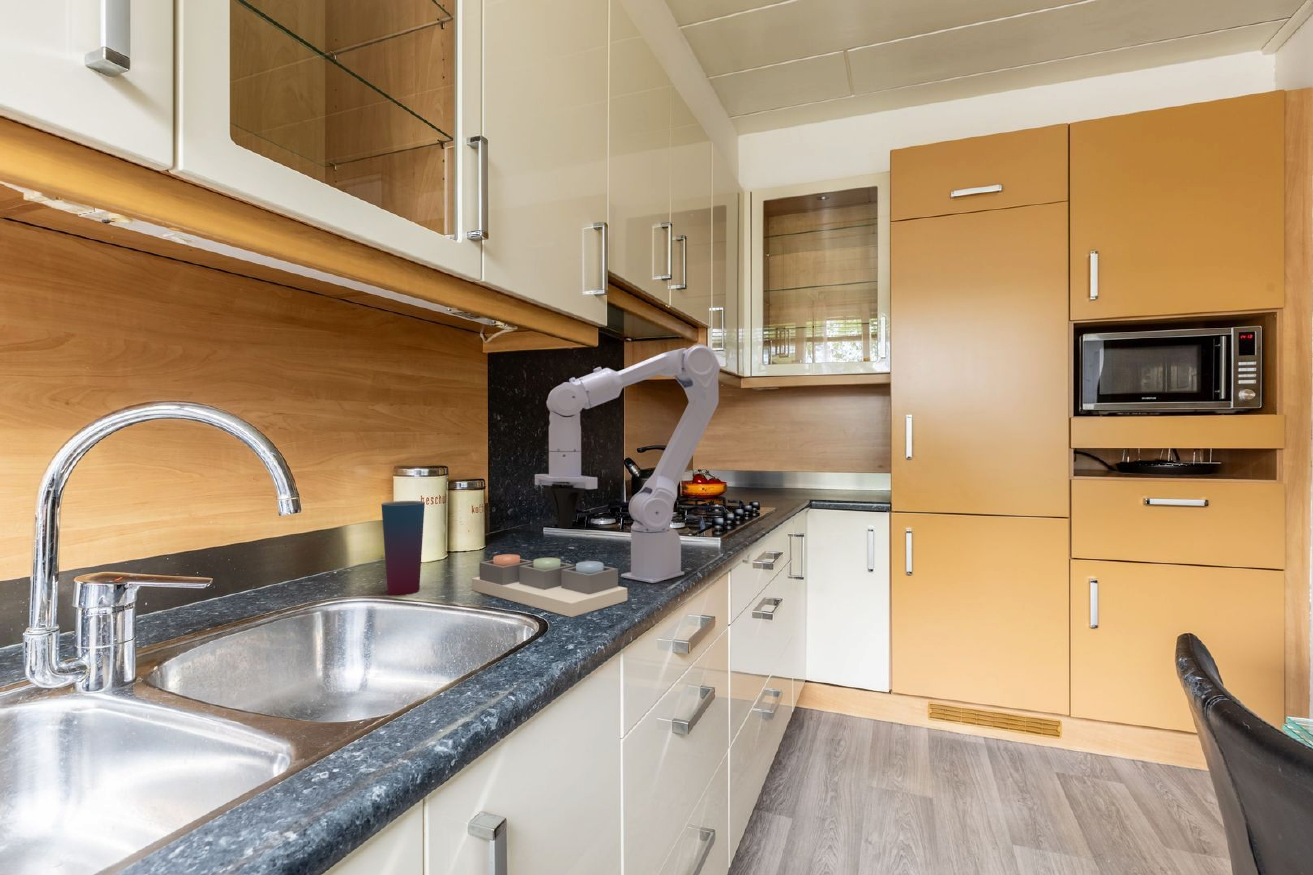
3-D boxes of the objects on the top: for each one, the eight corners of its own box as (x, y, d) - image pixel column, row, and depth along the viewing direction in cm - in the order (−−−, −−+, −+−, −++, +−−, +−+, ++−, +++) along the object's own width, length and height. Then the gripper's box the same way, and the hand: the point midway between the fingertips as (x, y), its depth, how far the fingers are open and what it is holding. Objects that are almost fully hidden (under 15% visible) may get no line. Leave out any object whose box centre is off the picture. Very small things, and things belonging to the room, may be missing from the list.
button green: (548, 570, 109) (548, 556, 109) (566, 574, 106) (566, 559, 106) (527, 575, 106) (527, 560, 106) (545, 579, 103) (545, 564, 103)
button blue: (590, 574, 106) (589, 560, 106) (609, 578, 103) (609, 563, 103) (570, 579, 103) (570, 564, 103) (589, 583, 100) (589, 567, 100)
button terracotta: (509, 567, 112) (509, 553, 112) (525, 570, 109) (525, 556, 109) (488, 571, 109) (488, 557, 109) (503, 574, 106) (503, 560, 106)
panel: (527, 577, 119) (527, 551, 119) (627, 600, 103) (627, 570, 103) (471, 589, 110) (471, 561, 110) (571, 617, 93) (571, 583, 93)
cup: (415, 596, 105) (415, 505, 105) (374, 596, 105) (374, 505, 105) (431, 586, 112) (430, 500, 112) (392, 586, 112) (392, 500, 112)
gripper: (521, 451, 117) (521, 525, 117) (576, 452, 107) (576, 534, 107) (551, 450, 122) (551, 521, 122) (605, 451, 113) (606, 529, 113)
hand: (565, 527), depth 115 cm, fingers closed
